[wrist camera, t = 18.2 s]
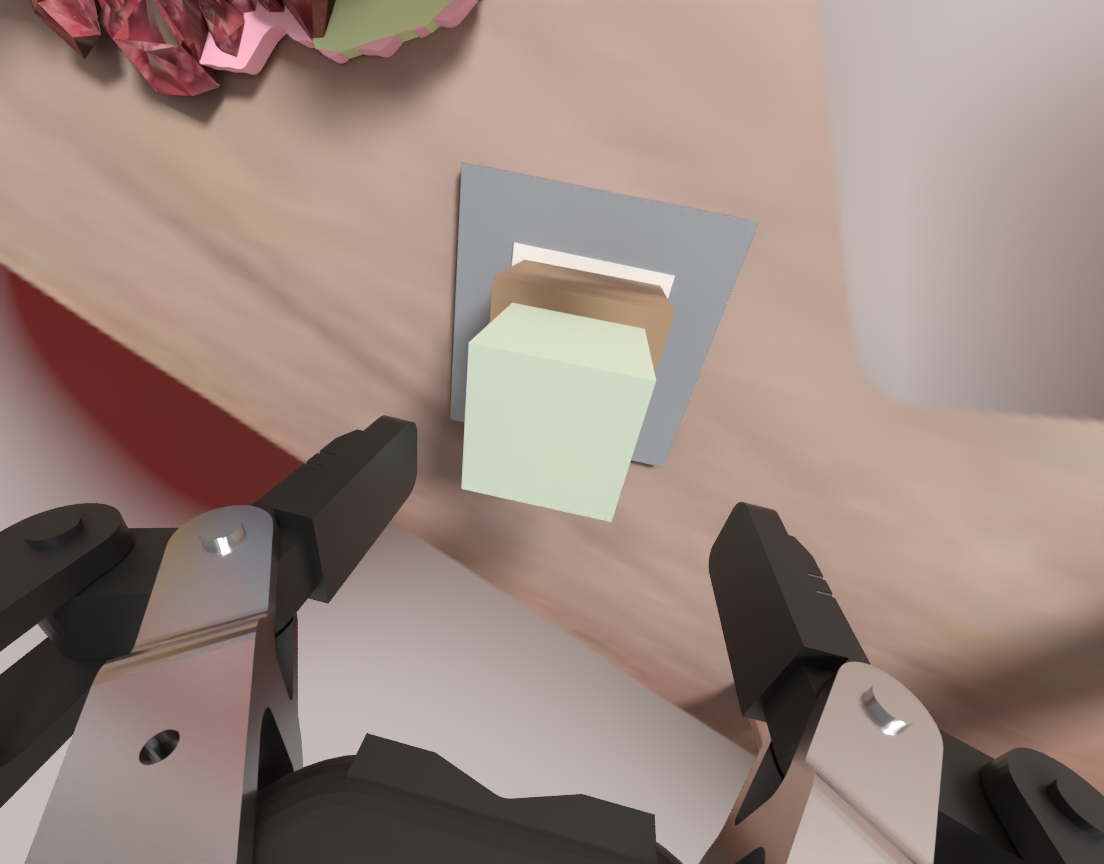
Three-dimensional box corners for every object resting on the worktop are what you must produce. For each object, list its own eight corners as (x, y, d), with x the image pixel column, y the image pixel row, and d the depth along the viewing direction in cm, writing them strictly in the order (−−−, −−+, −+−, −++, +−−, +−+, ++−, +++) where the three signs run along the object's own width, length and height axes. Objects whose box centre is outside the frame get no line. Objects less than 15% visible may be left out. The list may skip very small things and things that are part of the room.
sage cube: (644, 328, 13) (656, 380, 9) (613, 442, 15) (611, 521, 11) (512, 302, 13) (468, 342, 9) (500, 418, 16) (461, 488, 12)
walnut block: (660, 285, 17) (674, 312, 13) (625, 408, 20) (627, 463, 16) (524, 259, 17) (493, 277, 13) (510, 384, 20) (481, 432, 16)
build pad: (754, 221, 16) (760, 221, 15) (661, 461, 22) (662, 468, 21) (466, 163, 16) (460, 162, 16) (454, 414, 22) (449, 420, 22)
